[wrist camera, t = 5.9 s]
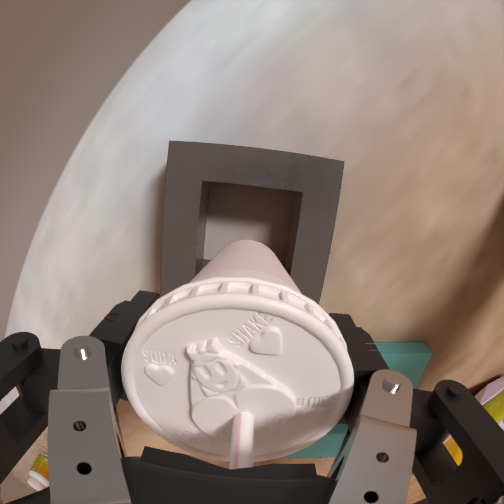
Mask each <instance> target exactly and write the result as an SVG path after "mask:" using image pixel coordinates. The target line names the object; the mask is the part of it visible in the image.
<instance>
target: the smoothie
mask: <svg viewBox="0 0 504 504" xmlns="http://www.w3.org/2000/svg"><path fill="white" fill-rule="evenodd" d="M121 374H122V382H123V386H124V390H125V392H126V395H127V398H128V400H129V402H130V404H131V405H132V407H133V408H134V410H135V412H136V413H137V414H138V415H139V417H140V418H141V419H142V421H143V422H144V423H146V425H147V426H149V427H150V428H151V429H152V430H153V431H154V432H155V433H156V434H158V435H159V436H161V437H162V438H163V439H165V440H166V441H168V442H169V443H171V444H173V445H175V446H177V447H179V448H181V449H183V450H185V451H187V452H190V453H193V454H196V455H199V456H201V457H206V458H210V459H215V460H219V461H228V462H229V469H239V468H247V467H253V462H259V461H266V460H272V459H277V458H280V457H284V456H287V455H290V454H293V453H295V452H298V451H300V450H302V449H304V448H306V447H308V446H310V445H312V444H313V443H315V442H316V441H318V440H319V439H321V438H322V437H323V436H325V435H326V434H327V433H328V432H329V431H330V430H331V429H332V428H333V427H334V426H335V425H336V424H337V423H338V421H339V420H340V419H341V418H342V416H343V414H344V413H345V411H346V409H347V407H348V405H349V403H350V400H351V397H352V393H353V388H354V372H353V367H352V363H351V360H350V357H349V354H348V352H347V344H346V342H345V340H344V338H343V336H342V334H341V332H340V330H339V328H338V326H337V324H336V322H335V321H334V320H333V319H332V318H331V317H330V316H329V315H328V314H327V313H326V312H325V311H324V310H323V309H322V308H321V307H320V306H319V305H318V304H317V303H316V302H315V301H313V300H311V299H310V298H308V297H306V296H304V295H302V293H301V292H300V290H299V289H298V287H297V286H296V285H295V283H294V282H293V280H292V279H291V277H290V276H289V274H288V273H287V271H286V270H285V268H284V267H283V266H282V264H281V263H280V261H279V260H278V258H277V257H276V255H275V254H274V253H273V252H272V250H271V249H269V248H268V247H267V246H265V245H264V244H262V243H260V242H257V241H253V240H239V241H235V242H233V243H230V244H228V245H227V246H225V247H224V248H223V249H222V250H221V251H220V252H219V253H218V254H217V255H216V256H215V257H214V258H213V259H212V260H211V261H210V262H209V263H208V264H207V265H206V266H205V267H204V268H203V269H202V270H201V271H200V272H199V273H198V274H197V275H196V276H195V277H194V278H193V279H192V280H191V281H190V282H189V283H188V284H184V285H182V286H180V287H179V288H177V289H175V290H173V291H171V292H169V293H168V294H166V295H164V296H162V297H160V298H159V299H157V300H156V301H155V302H154V303H153V305H152V306H151V307H150V308H149V309H148V310H147V311H146V312H145V313H144V314H143V315H142V316H141V317H140V318H139V321H138V323H137V325H136V328H135V330H134V332H133V335H132V336H131V338H130V340H129V341H128V343H127V346H126V348H125V351H124V354H123V358H122V365H121Z"/></svg>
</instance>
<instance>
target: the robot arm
mask: <svg viewBox="0 0 504 504" xmlns="http://www.w3.org/2000/svg"><path fill="white" fill-rule="evenodd" d="M159 298H160V294H159V293H154V292H148V291H141V290H140V291H139V292H138V293H137V294H136V295H135V296H134V297H133V299H132V300H131V301H124V302H122V303H120V304H118V305H116V306H115V307H114V308H113V309H112V310H111V311H110V312H109V314H107V315H106V317H105V318H104V320H102V321H101V322H100V323H99V325H98V326H97V327H96V328H95V329H94V330H93V331H92V333H91V334H90V335H89V336H78V337H74V338H71V339H69V340H68V341H66V342H65V343H64V344H63V345H62V347H61V349H45V348H41V346H40V342H39V339H38V337H37V336H36V335H34V334H32V333H29V332H18V333H15V334H12V335H10V336H8V337H7V338H5V339H4V340H3V341H1V342H0V401H1V400H2V398H4V397H5V396H6V395H7V394H8V393H9V392H10V391H11V390H12V389H13V388H14V387H15V386H16V388H17V390H18V393H19V395H20V396H19V397H18V398H17V399H16V400H15V401H14V402H13V403H12V404H11V405H10V406H9V407H8V408H7V409H6V410H5V411H4V412H3V413H2V414H1V415H0V484H1V483H2V482H3V480H4V479H5V478H6V477H7V475H8V474H9V473H10V472H11V470H12V469H13V468H14V466H15V465H16V464H17V463H18V461H19V460H20V459H21V458H22V457H23V455H24V454H25V453H26V452H27V450H28V449H29V448H30V447H31V445H32V444H33V443H34V442H35V441H36V439H37V438H38V437H39V436H40V435H41V433H42V432H43V431H44V430H45V429H46V427H47V426H48V470H49V485H50V487H47V488H45V489H43V490H40V491H38V492H35V493H33V494H30V495H28V496H25V497H22V498H20V499H17V500H14V501H11V502H8V503H5V504H405V503H406V499H407V494H408V489H409V484H410V478H411V472H412V471H413V473H414V475H415V477H416V479H417V481H418V482H419V484H420V486H421V488H422V490H423V492H424V494H425V495H426V497H427V499H428V501H429V503H430V504H504V430H503V429H502V428H501V427H500V426H499V424H498V423H497V422H496V421H495V420H494V419H493V417H492V416H491V415H490V414H489V413H488V412H487V410H486V409H485V408H484V407H483V406H482V405H481V404H480V402H479V401H478V400H477V399H476V398H475V397H474V396H473V395H472V393H471V392H470V391H469V390H468V389H467V388H466V387H465V386H464V385H462V384H461V383H459V382H456V381H453V380H442V381H440V382H438V383H437V385H436V386H435V388H434V390H433V392H431V391H424V390H418V389H413V385H412V383H411V381H410V380H409V379H408V378H407V377H406V376H405V375H403V374H402V373H400V372H397V371H394V370H390V369H389V367H388V366H387V364H386V362H385V360H384V359H383V357H382V355H381V353H380V352H379V351H378V348H377V346H376V345H375V344H374V341H373V340H372V338H371V336H370V335H369V334H368V333H367V332H366V331H364V330H363V329H362V328H361V327H356V326H355V324H354V322H353V320H352V318H351V317H350V315H349V314H337V313H330V314H329V316H330V317H331V318H332V319H333V320H334V321H335V322H336V324H337V326H338V328H339V330H340V332H341V334H342V336H343V338H344V340H345V342H346V344H347V352H348V354H349V357H350V360H351V363H352V367H353V372H354V388H353V393H352V397H351V400H350V403H349V405H348V407H347V409H346V411H345V413H344V414H343V416H342V418H341V419H340V420H339V421H338V423H337V424H347V426H348V429H347V431H346V433H345V435H344V437H343V440H342V443H341V445H340V447H339V450H338V452H337V455H336V457H335V459H334V462H333V464H332V466H331V468H330V471H329V473H328V475H327V477H325V476H321V475H317V474H316V468H315V464H268V465H262V466H255V467H247V468H239V469H226V468H222V467H219V466H216V465H213V464H210V463H207V462H205V461H202V460H199V459H196V458H193V457H191V456H188V455H186V454H180V453H175V452H170V451H165V450H160V449H155V448H151V447H147V446H145V447H144V450H143V453H142V456H141V457H137V456H135V457H127V453H126V449H125V445H124V441H123V436H122V432H121V427H120V422H119V417H118V411H117V407H116V405H117V403H118V401H119V399H123V400H127V401H129V400H128V398H127V395H126V392H125V390H124V386H123V382H122V374H121V365H122V358H123V354H124V351H125V348H126V346H127V343H128V341H129V340H130V338H131V336H132V335H133V332H134V330H135V328H136V325H137V323H138V321H139V318H140V317H141V316H142V315H143V314H144V313H145V312H146V311H147V310H148V309H149V308H150V307H151V306H152V305H153V303H154V302H155V301H156V300H157V299H159ZM449 434H450V435H451V436H452V438H453V439H454V441H455V442H456V444H457V445H458V446H459V448H460V449H461V451H462V461H461V464H460V465H459V466H458V465H457V463H456V462H455V460H454V459H453V457H452V456H451V454H450V453H449V451H448V450H447V448H446V447H445V445H444V444H443V442H444V441H445V439H446V438H447V437H448V435H449ZM0 494H1V487H0ZM0 504H3V501H2V498H1V496H0Z"/></svg>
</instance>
